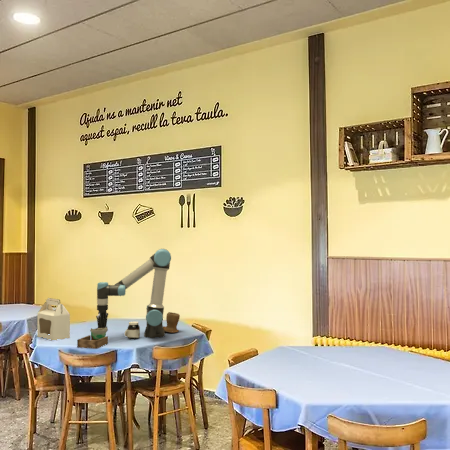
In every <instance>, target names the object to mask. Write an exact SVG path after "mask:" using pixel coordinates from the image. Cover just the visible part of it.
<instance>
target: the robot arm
mask: <svg viewBox="0 0 450 450" xmlns="http://www.w3.org/2000/svg"><path fill="white" fill-rule="evenodd" d="M171 260H172V255H171V253H170V251H169V250H167V249H166V248H158V250H156V251H155V253H154V254H152V255H151V256H150V257H149V259H148V260H146V261H145V262H144V263H142V264H141V265H140V266H138V267H137V268H135V269H134V270H133V271H131V272H130V273H129V274H128V275H126V276H125V277H123V278H122V279H121V280H119V281H118V282H116V283H115V284H114V285H113V284H112V285H111V284H109V282H108V281H101V282H100V281H99V282H98V283H97V284H96V285H97V286H96V304H97V305H96V310H97V311H98V314H97V315H96V316H95V317H96V320H97V321H96V323H97V328H104V327H106V326H107V324H108V323H107V322H108V317H109V312H107V311H108V310H109V297H113V296H114V297H124V296H126V292H127V291H126V290H127V289H128V288H130V287H131V286H133V285H134V284H135V283H136V282H138V281H139V280H141V279H142V278H144V277H145V276H146V275H148V274H149V273H150V272H153V270H154V272H153V280H152V288H151V294H150V302H149V303H148V304H147V305H146V314H145V321H146V327H145V330H144V333H143V336H144V337H145V338H147V337H150V338H151V339H155V337H159V338H163V336H164V337H165V335H166V332H165V331H164V328H163V327H164V325H163V320H164V312H165V311H164V310H165V306H164V305H163V302H164V294H165V288H166V287H165V286H166V280H167V279H166V278H167V272H168V270H170V266H171ZM150 338H149V339H150Z"/></svg>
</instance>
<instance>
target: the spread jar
mask: <svg viewBox="0 0 450 450" xmlns="http://www.w3.org/2000/svg"><path fill="white" fill-rule="evenodd" d="M140 335H141V327H140V325H139V321H135V320H134V321H129V322H128V326H127V328H126V329H125V331H124V336H125V337H126V338H127V339H128V340H131V339H134V340H138V339H139V338H140Z"/></svg>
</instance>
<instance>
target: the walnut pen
mask: <svg viewBox="0 0 450 450" xmlns="http://www.w3.org/2000/svg"><path fill="white" fill-rule="evenodd" d="M76 343H77V344H76V346H77V348H78V349H79V348H83V349H95V350H97V349H100V348H102V347H104V346H106V345H108V344H109V336H107V335H106V336H105V337H104V338H101V339H99V340H96V341H95V340H91V334H89V335H86V336H83V337H81V338H78V339H77V341H76ZM107 343H108V344H107ZM105 344H106V345H105ZM103 345H104V346H103ZM101 346H102V347H101Z"/></svg>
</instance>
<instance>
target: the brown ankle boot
mask: <svg viewBox="0 0 450 450" xmlns="http://www.w3.org/2000/svg"><path fill="white" fill-rule="evenodd" d="M180 317H181V316H180V314H179V313H176V312H171V311H168V312H167V313H166V319H165V321H166V326H164V325H163V328H164V332H165V333H171V334H173V333H178V332H179V331H180V330H179V329H178V328H177V326H178V325H179V324H178V323H179V321H180Z"/></svg>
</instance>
